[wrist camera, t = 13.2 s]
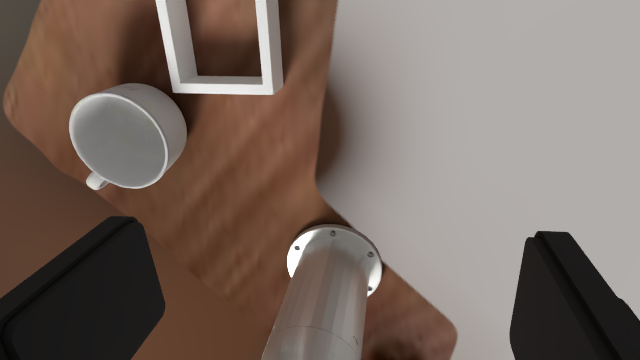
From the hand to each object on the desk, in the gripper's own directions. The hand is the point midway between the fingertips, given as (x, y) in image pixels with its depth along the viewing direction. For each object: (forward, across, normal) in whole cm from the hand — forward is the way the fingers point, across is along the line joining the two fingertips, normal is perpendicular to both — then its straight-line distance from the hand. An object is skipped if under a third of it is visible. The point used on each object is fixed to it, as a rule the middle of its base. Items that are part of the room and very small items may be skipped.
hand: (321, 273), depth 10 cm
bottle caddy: (+34, +16, -4) cm, 38 cm away
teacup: (+35, +28, +6) cm, 45 cm away
